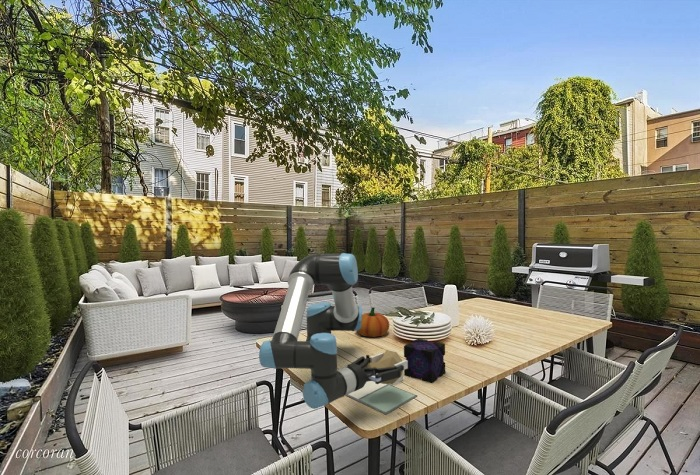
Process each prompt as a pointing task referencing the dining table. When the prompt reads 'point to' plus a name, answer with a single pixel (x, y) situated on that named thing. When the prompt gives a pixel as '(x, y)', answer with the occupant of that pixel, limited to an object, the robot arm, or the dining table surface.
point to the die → (399, 379)
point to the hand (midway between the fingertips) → (394, 360)
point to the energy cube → (425, 360)
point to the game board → (381, 396)
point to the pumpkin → (373, 324)
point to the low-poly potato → (387, 363)
